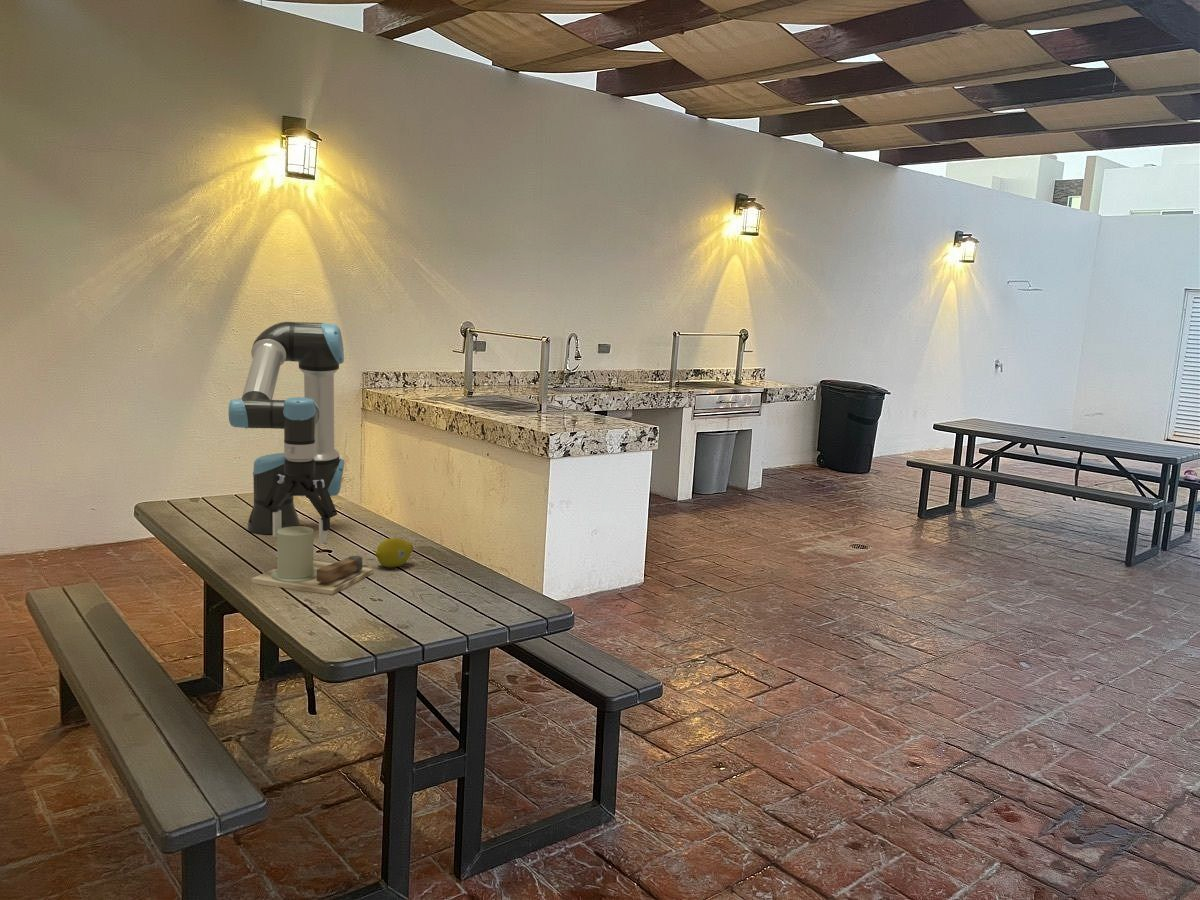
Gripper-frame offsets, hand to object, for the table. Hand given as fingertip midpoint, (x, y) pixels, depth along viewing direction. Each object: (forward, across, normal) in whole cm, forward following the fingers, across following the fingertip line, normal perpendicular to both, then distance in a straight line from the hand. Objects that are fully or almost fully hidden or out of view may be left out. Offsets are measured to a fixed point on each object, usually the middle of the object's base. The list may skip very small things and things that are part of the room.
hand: (300, 539), depth 238 cm
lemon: (+11, +17, +19) cm, 28 cm away
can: (+9, 0, -2) cm, 9 cm away
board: (+10, +4, +1) cm, 11 cm away
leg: (+8, +11, +1) cm, 14 cm away
